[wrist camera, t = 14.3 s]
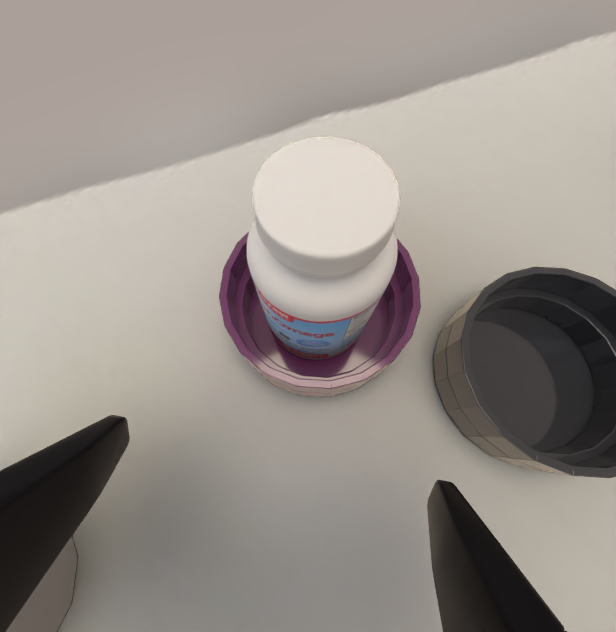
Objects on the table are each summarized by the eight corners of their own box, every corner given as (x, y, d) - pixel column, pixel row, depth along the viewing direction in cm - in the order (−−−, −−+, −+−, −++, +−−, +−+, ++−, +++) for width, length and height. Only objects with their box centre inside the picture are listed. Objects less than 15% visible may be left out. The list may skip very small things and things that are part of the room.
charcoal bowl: (473, 490, 18) (520, 506, 14) (408, 318, 21) (431, 292, 17) (640, 440, 19) (729, 441, 15) (552, 282, 22) (606, 248, 18)
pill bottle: (248, 320, 21) (183, 202, 10) (310, 253, 22) (310, 90, 12) (324, 383, 19) (342, 322, 9) (385, 307, 21) (461, 178, 10)
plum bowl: (254, 417, 19) (240, 413, 15) (223, 261, 22) (205, 226, 19) (424, 371, 20) (451, 357, 16) (370, 227, 23) (382, 187, 20)
